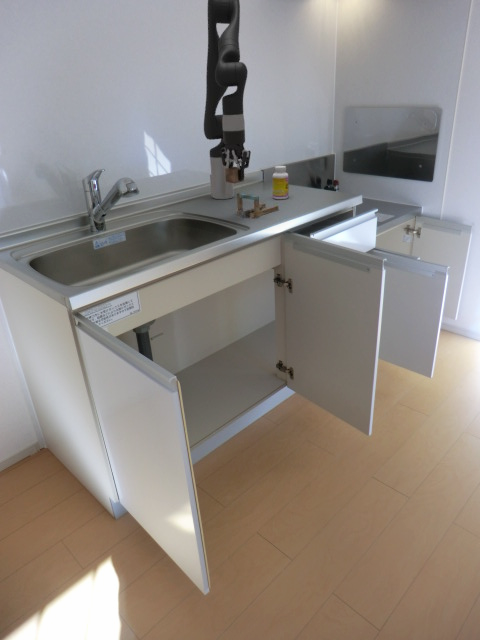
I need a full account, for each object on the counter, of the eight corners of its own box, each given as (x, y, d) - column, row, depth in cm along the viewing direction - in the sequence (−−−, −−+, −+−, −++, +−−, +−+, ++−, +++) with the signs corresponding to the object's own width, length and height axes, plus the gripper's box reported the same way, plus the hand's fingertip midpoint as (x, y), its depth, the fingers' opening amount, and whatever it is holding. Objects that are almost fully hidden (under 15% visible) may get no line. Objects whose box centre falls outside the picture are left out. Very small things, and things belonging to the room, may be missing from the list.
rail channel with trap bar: (235, 214, 184) (234, 194, 180) (261, 206, 192) (261, 187, 189) (253, 218, 177) (253, 198, 174) (280, 210, 186) (280, 190, 182)
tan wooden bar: (240, 217, 181) (239, 209, 179) (257, 212, 186) (256, 205, 185) (245, 218, 179) (245, 211, 178) (262, 213, 184) (262, 206, 183)
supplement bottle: (287, 199, 201) (287, 167, 195) (271, 199, 202) (271, 168, 196) (289, 196, 206) (289, 165, 201) (274, 196, 208) (273, 165, 202)
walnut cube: (225, 181, 173) (225, 168, 170) (235, 179, 175) (234, 166, 173) (234, 183, 170) (233, 170, 167) (243, 181, 172) (243, 167, 170)
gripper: (256, 128, 162) (257, 180, 170) (228, 126, 171) (230, 175, 179) (240, 131, 158) (242, 184, 166) (211, 128, 167) (215, 178, 175)
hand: (236, 179), depth 172 cm, fingers closed on walnut cube, 4 cm apart
